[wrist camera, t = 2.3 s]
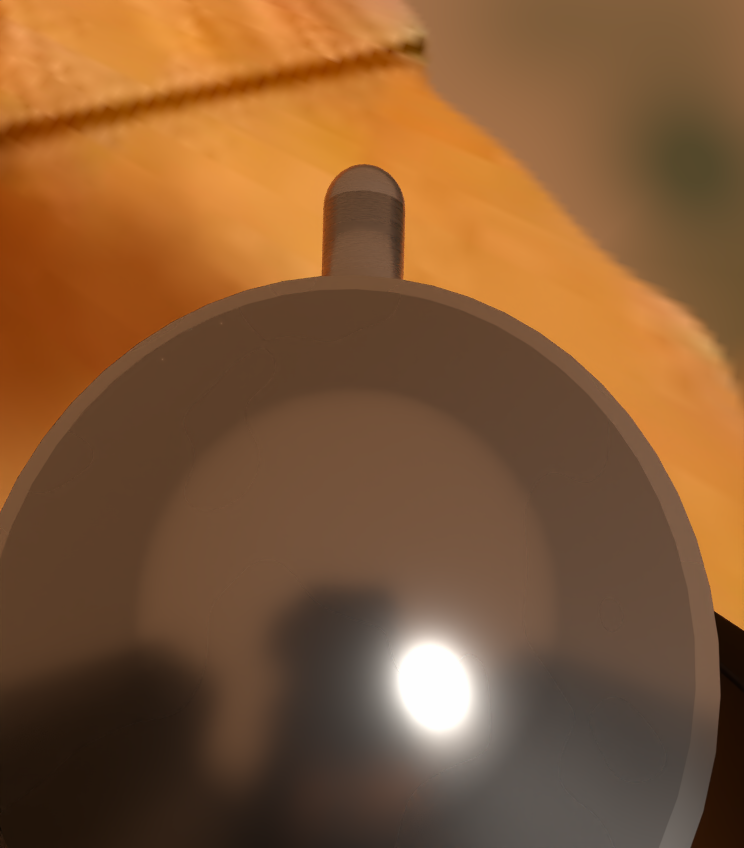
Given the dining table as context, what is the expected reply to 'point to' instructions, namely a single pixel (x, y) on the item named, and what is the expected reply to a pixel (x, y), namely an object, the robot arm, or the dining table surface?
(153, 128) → the dining table surface
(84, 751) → the spout can
